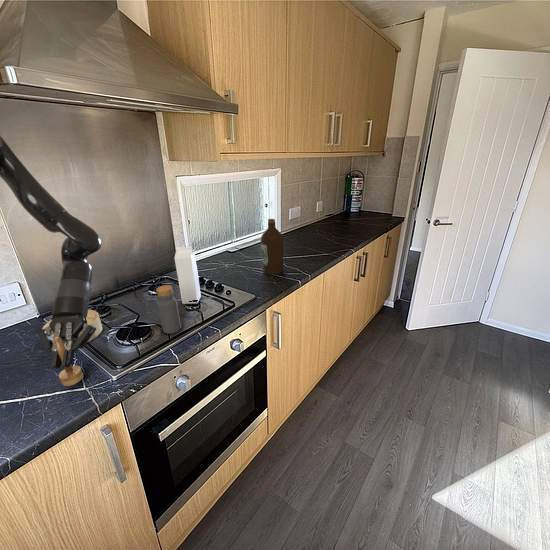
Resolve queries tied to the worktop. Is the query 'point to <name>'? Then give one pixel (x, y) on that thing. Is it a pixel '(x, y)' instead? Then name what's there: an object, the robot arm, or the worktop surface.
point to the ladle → (69, 373)
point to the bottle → (168, 309)
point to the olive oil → (272, 249)
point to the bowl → (91, 319)
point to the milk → (187, 275)
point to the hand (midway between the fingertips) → (61, 367)
